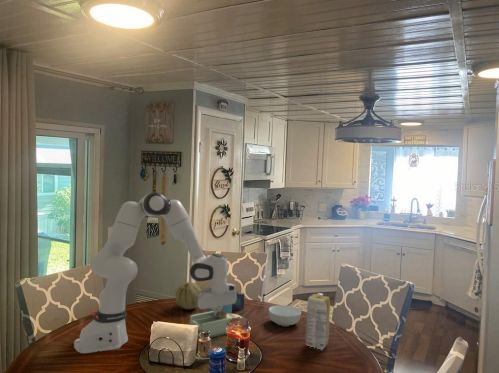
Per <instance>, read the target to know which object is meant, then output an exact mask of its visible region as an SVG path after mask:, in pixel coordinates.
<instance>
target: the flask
mask: <svg viewBox="0 0 499 373" xmlns="http://www.w3.org/2000/svg"><path fill="white" fill-rule="evenodd" d="M235 291H236V294H237V300H236V302H235V303H234V304H232V311H233V310H237V311H238V310H241V311H243V310H244V308H245V294H244V292H239V291H238V289H235Z"/></svg>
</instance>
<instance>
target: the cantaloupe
mask: <svg viewBox="0 0 499 373" xmlns="http://www.w3.org/2000/svg"><path fill="white" fill-rule="evenodd" d="M201 290H202V288H201V287H200V286H199V285H198V284H197V283H195V282H192V281H187V282H183V283H182V284H181V285H179V287H178V288H177V289H176V292H175V302H176V303H177V305H178V306H179V307H180V308H181V309H184V310H192V309H194V308H197V307H198V299H199V292H200V291H201Z"/></svg>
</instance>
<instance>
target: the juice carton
mask: <svg viewBox="0 0 499 373" xmlns="http://www.w3.org/2000/svg"><path fill="white" fill-rule="evenodd" d="M330 301H331V300H330V297H329V296H324V293H318V292H317V294H316V293H313V294H312V295H310V296H309V297H308V300H307V305H306V322H305V323H306V325H305V326H306V327H305V345H307V346H310V347H309V348H311V347H314V348H313V349H315V348H317V349H316V350H318V349H321V350H320V351H323V350H324V349H325V348H326V347H327V346H326V345H328V343H329V332H330V313H331V312H330V311H331V310H330V309H331V303H330ZM307 346H306V347H307Z"/></svg>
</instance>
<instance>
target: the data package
mask: <svg viewBox="0 0 499 373" xmlns="http://www.w3.org/2000/svg"><path fill="white" fill-rule="evenodd" d="M215 310H216V309H215ZM222 310H224V311H225V312H227V313H230V314H232V311H233V309H232V304H229V305H224V306H223V308H222ZM210 311H213V309H212V308H209V310H208V312H210Z"/></svg>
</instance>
